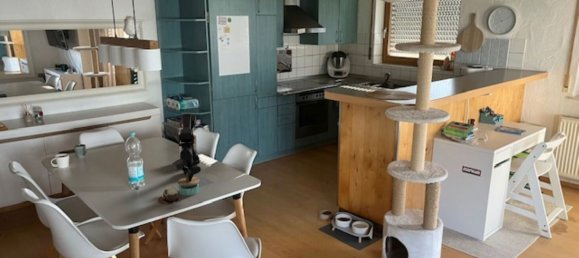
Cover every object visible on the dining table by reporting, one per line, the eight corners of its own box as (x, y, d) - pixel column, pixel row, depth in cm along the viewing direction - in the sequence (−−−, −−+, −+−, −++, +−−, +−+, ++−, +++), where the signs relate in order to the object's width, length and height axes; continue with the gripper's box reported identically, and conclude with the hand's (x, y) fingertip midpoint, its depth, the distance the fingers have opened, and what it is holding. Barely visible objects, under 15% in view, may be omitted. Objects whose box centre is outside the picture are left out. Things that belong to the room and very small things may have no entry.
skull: (152, 198, 235) (162, 181, 238) (165, 206, 242) (175, 189, 246) (164, 204, 227) (174, 186, 231) (178, 211, 235) (187, 194, 238)
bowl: (175, 191, 247) (175, 185, 246) (192, 186, 254) (192, 180, 253) (185, 197, 239) (185, 190, 238) (202, 192, 246) (202, 185, 245)
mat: (186, 182, 260) (186, 181, 260) (203, 177, 268) (203, 176, 268) (196, 188, 252) (196, 187, 252) (214, 183, 260) (214, 182, 260)
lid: (174, 181, 246) (173, 173, 244) (192, 176, 253) (192, 168, 252) (184, 187, 237) (184, 179, 236) (203, 182, 245) (203, 174, 243)
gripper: (165, 152, 242) (167, 179, 246) (182, 161, 229) (184, 188, 233) (183, 148, 249) (185, 174, 253) (200, 156, 236) (202, 183, 240)
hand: (188, 180), depth 245 cm, fingers closed on lid, 3 cm apart
